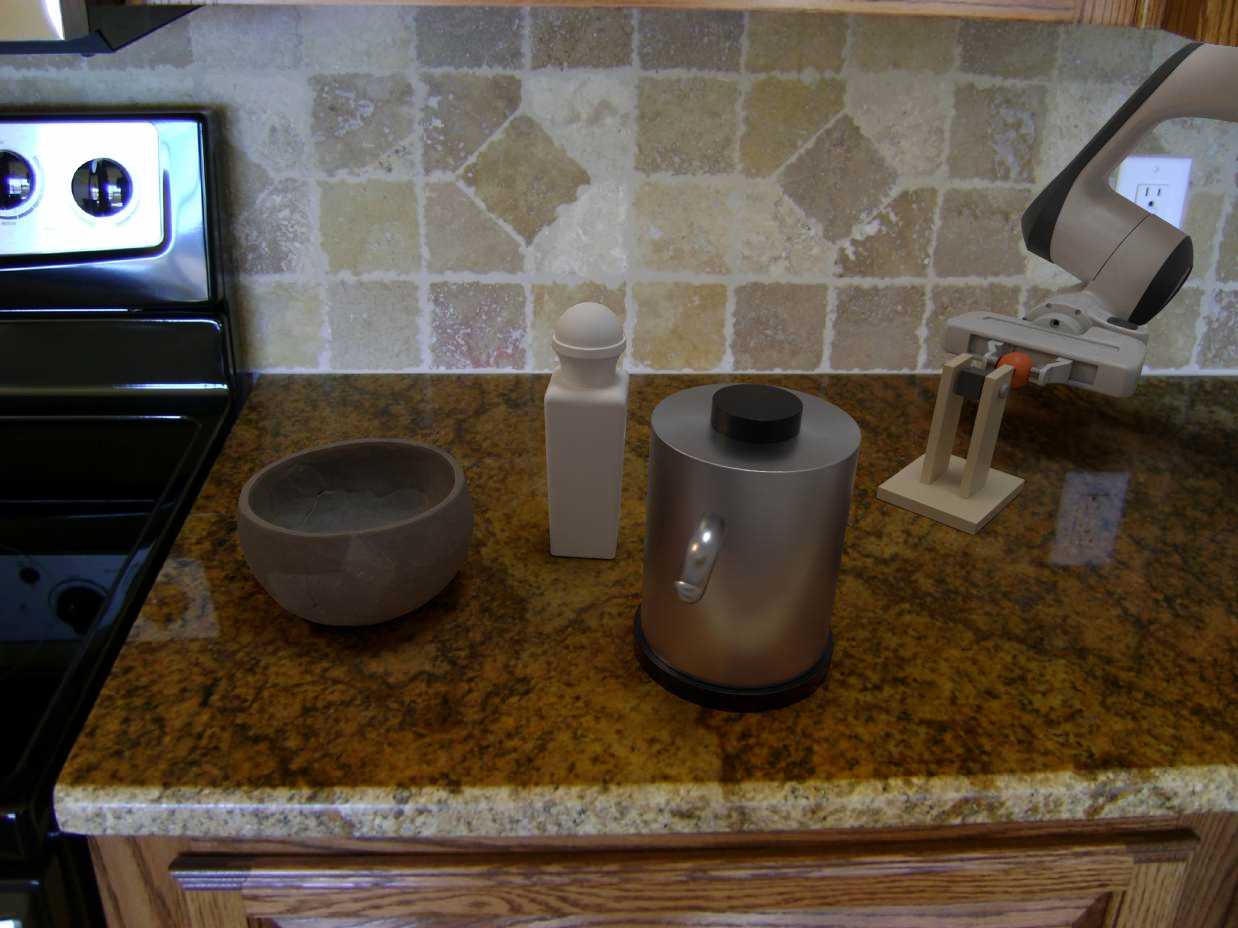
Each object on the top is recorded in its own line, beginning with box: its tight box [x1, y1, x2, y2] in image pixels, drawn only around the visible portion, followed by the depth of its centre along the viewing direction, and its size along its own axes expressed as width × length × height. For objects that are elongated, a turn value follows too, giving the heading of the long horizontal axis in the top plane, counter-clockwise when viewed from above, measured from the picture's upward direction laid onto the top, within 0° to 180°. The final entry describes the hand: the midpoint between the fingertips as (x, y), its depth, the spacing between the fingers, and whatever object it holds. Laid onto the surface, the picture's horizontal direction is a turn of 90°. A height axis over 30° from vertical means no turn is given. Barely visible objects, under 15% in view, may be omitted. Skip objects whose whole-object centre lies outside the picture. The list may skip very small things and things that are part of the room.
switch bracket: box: [875, 353, 1026, 536], centre depth 90 cm, size 12×10×14 cm
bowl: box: [236, 437, 475, 627], centre depth 74 cm, size 17×18×10 cm
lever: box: [955, 352, 1034, 402], centre depth 92 cm, size 14×4×4 cm, turn 139°
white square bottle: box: [543, 301, 631, 560], centre depth 78 cm, size 6×6×22 cm
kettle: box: [632, 382, 862, 713], centre depth 66 cm, size 22×15×20 cm
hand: (1012, 371), depth 95 cm, fingers closed on lever, 3 cm apart
